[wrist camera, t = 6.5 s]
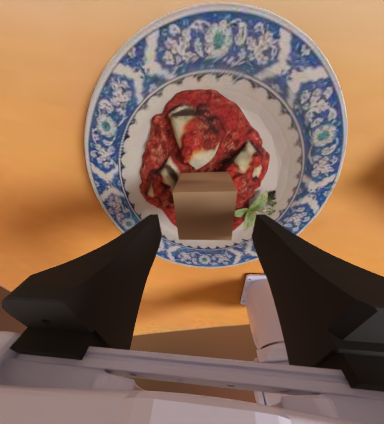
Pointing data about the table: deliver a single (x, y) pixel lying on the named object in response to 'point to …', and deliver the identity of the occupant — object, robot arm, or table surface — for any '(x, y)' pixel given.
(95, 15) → the table surface
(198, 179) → the walnut block
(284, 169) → the ceramic plate
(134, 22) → the table surface
